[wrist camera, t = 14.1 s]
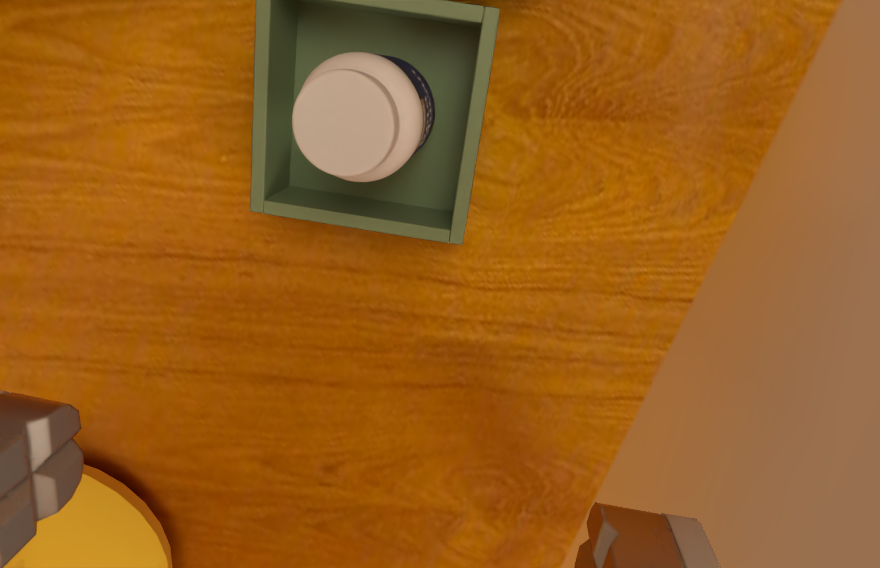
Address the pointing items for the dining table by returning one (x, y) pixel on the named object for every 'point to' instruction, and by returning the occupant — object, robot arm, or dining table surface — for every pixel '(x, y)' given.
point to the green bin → (386, 33)
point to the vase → (98, 531)
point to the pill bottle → (363, 115)
